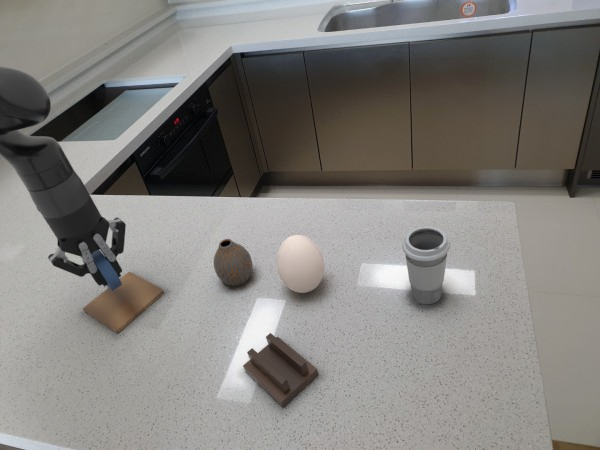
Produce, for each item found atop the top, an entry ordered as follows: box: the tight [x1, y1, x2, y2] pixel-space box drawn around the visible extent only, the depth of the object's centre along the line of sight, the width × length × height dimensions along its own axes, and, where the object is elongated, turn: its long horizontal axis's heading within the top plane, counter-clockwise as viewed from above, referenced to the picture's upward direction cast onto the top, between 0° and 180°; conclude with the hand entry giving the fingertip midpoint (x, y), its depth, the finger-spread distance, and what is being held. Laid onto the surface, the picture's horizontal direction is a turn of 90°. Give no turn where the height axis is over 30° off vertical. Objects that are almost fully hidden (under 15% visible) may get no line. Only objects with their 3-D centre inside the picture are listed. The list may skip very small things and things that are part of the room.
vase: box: [213, 238, 253, 287], centre depth 84 cm, size 7×7×9 cm
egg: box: [276, 234, 325, 294], centre depth 78 cm, size 8×8×11 cm
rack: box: [242, 332, 320, 409], centre depth 67 cm, size 7×9×4 cm
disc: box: [91, 250, 122, 291], centre depth 83 cm, size 2×8×8 cm
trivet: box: [82, 271, 165, 334], centre depth 86 cm, size 11×11×1 cm
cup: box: [401, 225, 451, 305], centre depth 72 cm, size 7×7×12 cm
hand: (111, 279), depth 83 cm, fingers closed on disc, 2 cm apart
